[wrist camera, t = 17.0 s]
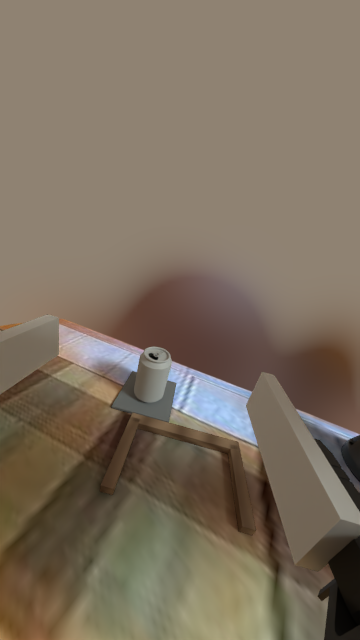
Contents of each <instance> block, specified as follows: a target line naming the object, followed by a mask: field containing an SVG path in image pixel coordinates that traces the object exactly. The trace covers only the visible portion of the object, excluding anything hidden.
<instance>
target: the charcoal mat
mask: <svg viewBox="0 0 360 640" xmlns="http://www.w3.org/2000/svg"><path fill="white" fill-rule="evenodd" d="M136 375H137V372H134V371H132V373H131V375H130V376H129V378H128V380H127V381H126V383H125V385H124V386H123V388H122V390H121V391H120V393H119V395H118V396H117V398H116V400H115V401H114V403H113V405H112V407H111V408H114V409H117V410H121V411H125V412H128V413H136V414H140V415H143V416H147V417H150V418H154V419H158V420H161V421H165V422H168V423H169V418H170V413H171V408H172V403H173V398H174V393H175V387H176V383H174V382H171V381H167V383H166V387H165V391H164V395H163V397H162V398H161V399H160V400H158V401H156V402H152V403H147V402H143V401H141V400H140V399H138V398H137V397H136V395H135V393H134V386H135V381H136Z"/></svg>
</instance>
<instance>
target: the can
mask: <svg viewBox="0 0 360 640" xmlns="http://www.w3.org/2000/svg"><path fill="white" fill-rule="evenodd" d="M171 364H172V360H171V358H170V353H168V351H166V350H165V349H163V348H159V347H149V348H147V349H145V350H144V352H143V353H142V354H141V356H140V359H139V365H138V370H137V375H136V381H135V386H134V393H135V395H136V397H137V398H138V399H140V400H141V401H143V402H147V403H152V402H156V401H158V400H160V399H161V398H162V397H163V395H164V391H165V387H166V383H167V379H168V375H169V372H170V368H171Z"/></svg>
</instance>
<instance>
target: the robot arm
mask: <svg viewBox="0 0 360 640" xmlns="http://www.w3.org/2000/svg"><path fill="white" fill-rule="evenodd" d="M57 355H59V318H58V317H55V316H51V315H45V316H42V317H39V318H36V319H34V320H31V321H28V322H25V323H23V324H20V325H17V326H15V327H12V328H9V329H7V330H4V331H1V332H0V394H1V393H3V392H4V391H6V390H7V389H9V388H10V387H12V386H13V385H15V384H16V383H18V382H19V381H20V380H22V379H23V378H25V377H26V376H28V375H29V374H31V373H32V372H34V371H35V370H37V369H38V368H40V367H41V366H42V365H44V364H45V363H47V362H48V361H50V360H51V359H53V358H54V357H56V356H57ZM246 407H247V410H248V414H249V417H250V420H251V423H252V427H253V430H254V433H255V436H256V440H257V443H258V446H259V450H260V453H261V456H262V459H263V463H264V466H265V469H266V472H267V476H268V479H269V482H270V486H271V489H272V492H273V495H274V499H275V502H276V505H277V508H278V512H279V515H280V518H281V522H282V525H283V528H284V531H285V535H286V538H287V541H288V544H289V548H290V551H291V554H292V558H293V561H294V564H295V565H296V566H300V567H303V568H307V569H310V570H314V571H317V572H319V571H320V570H321V569H322V568H323V567H324V566H326V565H327V564H328V563H329V566H330V568H331V570H332V573H333V575H334V578H335V579H333V580H332V581H331V582H330V583H328V584H327V585H326V586H325V587H323V588H322V589H321V590H320V592H319V594H318V597H319V599H320V600H321V601H323V600H324V599H325V598H327V597H328V596H329V601H328V610H327V619H326V628H325V637H324V640H360V494H359V493H358V491H357V490H356V488H355V487H354V485H353V484H352V483H351V482H350V481H349V480H350V479H349V478H348V476H347V475H346V473H345V472H344V470H342V469H341V466H340V464H339V463H338V461H337V460H336V458H335V457H334V455H333V454H332V453H331V452H330V451H329V450H328V448H327V447H326V446H325V445H324V444H323V443H322V442H321V441H320V440H317V439H314V438H313V436H312V435H311V433H310V432H309V430H308V428H307V427H306V425H305V424H304V422H303V420H302V419H301V417H300V416H299V414H298V412H297V411H296V409H295V408H294V406H293V404H292V403H291V401H290V400H289V398H288V396H287V395H286V393H285V392H284V390H283V388H282V387H281V385H280V384H279V382H278V380H277V379H276V377H275V376H274V375H272V374H268V373H264V372H262V373H261V375H260V377H259V380H258V382H257V384H256V386H255V388H254V390H253V392H252V394H251V396H250V398H249V400H248V403H247V405H246ZM342 455H343V458H344V460H345V462H346V464H347V465H348V467H349V468H350V470H351V471H352V473H353V474H354V475H355V476H356V477H357V479H358V480H359V481H360V435H359V436H356V437H354V438H352V439H349V440H348V441H347V442H346V443H345V445H344V446H343V447H342Z"/></svg>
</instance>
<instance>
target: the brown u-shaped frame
mask: <svg viewBox="0 0 360 640" xmlns="http://www.w3.org/2000/svg"><path fill="white" fill-rule="evenodd" d="M137 428H138V429H141V430H145V431H148V432H152V433H155V434H159V435H163V436H166V437H170V438H173V439H177V440H180V441H184V442H188V443H191V444H195V445H198V446H202V447H205V448H209V449H213V450H216V451H220V452H223V453H227V454H228V458H229V465H230V472H231V479H232V486H233V494H234V501H235V508H236V515H237V523H238V530H239V532H242V533H245V534H248V535H253V534H254V533H255V531H256V527H255V522H254V517H253V512H252V507H251V502H250V497H249V492H248V487H247V482H246V478H245V473H244V468H243V463H242V458H241V453H240V448H239V443H238V442H237V441H233V440H229V439H226V438H222V437H219V436H215V435H212V434H208V433H204V432H201V431H197V430H194V429H190V428H186V427H183V426H179V425H176V424H172V423H168V422H165V421H161V420H158V419H154V418H150V417H147V416H143V415H140V414H136V413H132V415H131V417H130V419H129V422H128V424H127V426H126V428H125V431H124V433H123V435H122V438H121V440H120V442H119V444H118V447H117V449H116V451H115V453H114V456H113V458H112V460H111V462H110V465H109V467H108V469H107V472H106V474H105V476H104V478H103V481H102V483H101V485H100V492H104V493H107V494H110V495H113V493H114V490H115V487H116V485H117V482H118V479H119V477H120V474H121V471H122V469H123V466H124V463H125V461H126V458H127V455H128V452H129V450H130V447H131V444H132V442H133V439H134V436H135V434H136V431H137Z"/></svg>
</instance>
